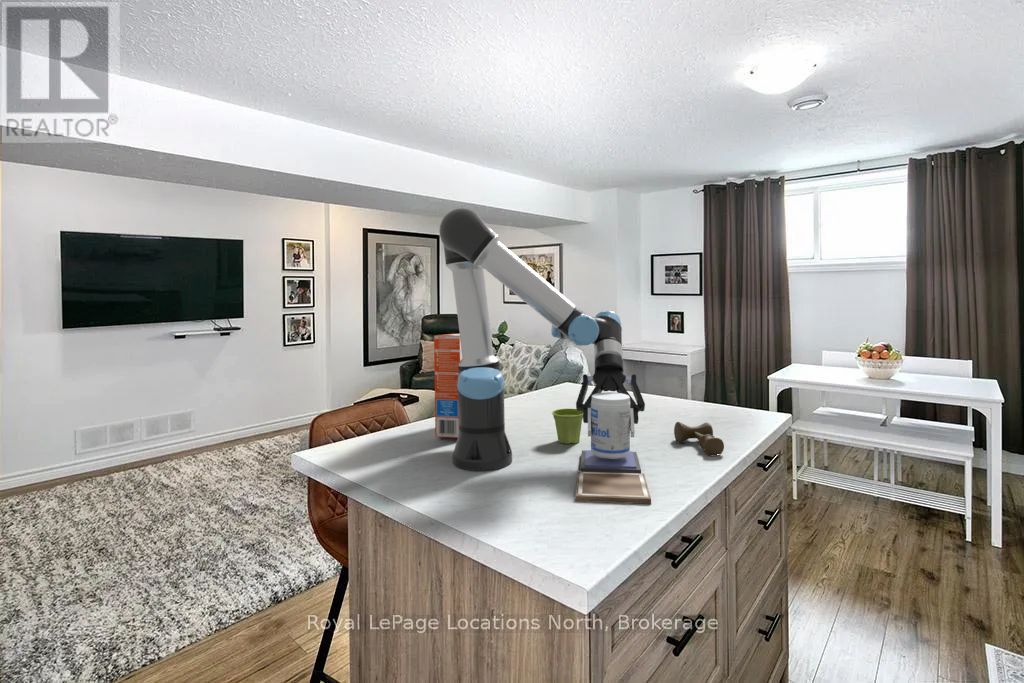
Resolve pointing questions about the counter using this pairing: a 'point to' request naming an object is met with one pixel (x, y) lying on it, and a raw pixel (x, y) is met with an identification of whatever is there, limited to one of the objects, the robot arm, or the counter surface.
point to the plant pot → (568, 425)
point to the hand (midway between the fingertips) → (610, 434)
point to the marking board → (612, 487)
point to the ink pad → (609, 463)
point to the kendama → (699, 437)
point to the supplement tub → (610, 425)
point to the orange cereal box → (447, 384)
